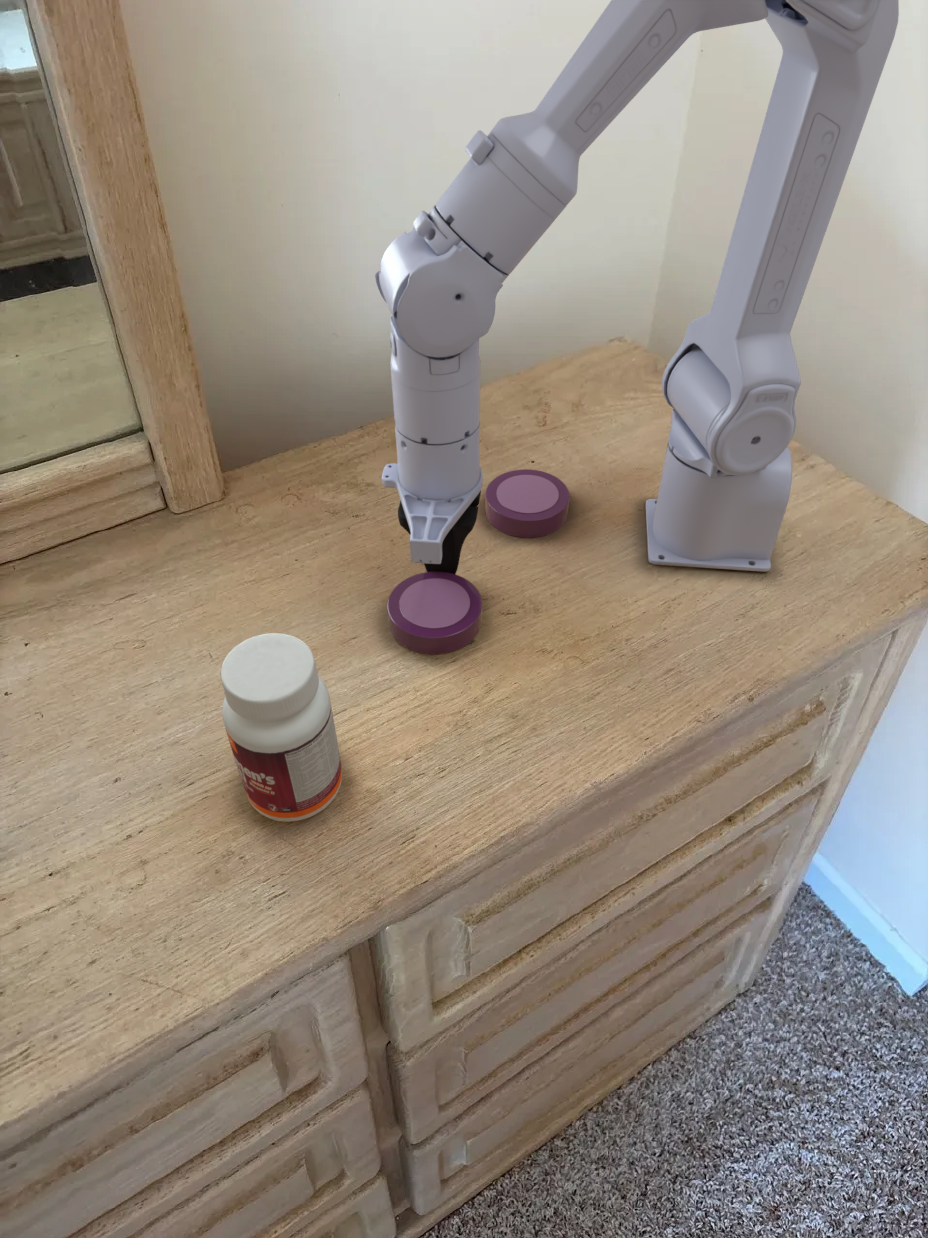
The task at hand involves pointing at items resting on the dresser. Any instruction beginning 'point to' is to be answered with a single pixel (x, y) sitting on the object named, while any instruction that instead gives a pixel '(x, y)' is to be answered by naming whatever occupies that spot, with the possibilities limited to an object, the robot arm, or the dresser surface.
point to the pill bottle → (280, 727)
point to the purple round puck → (527, 503)
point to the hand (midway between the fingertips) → (442, 571)
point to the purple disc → (435, 612)
